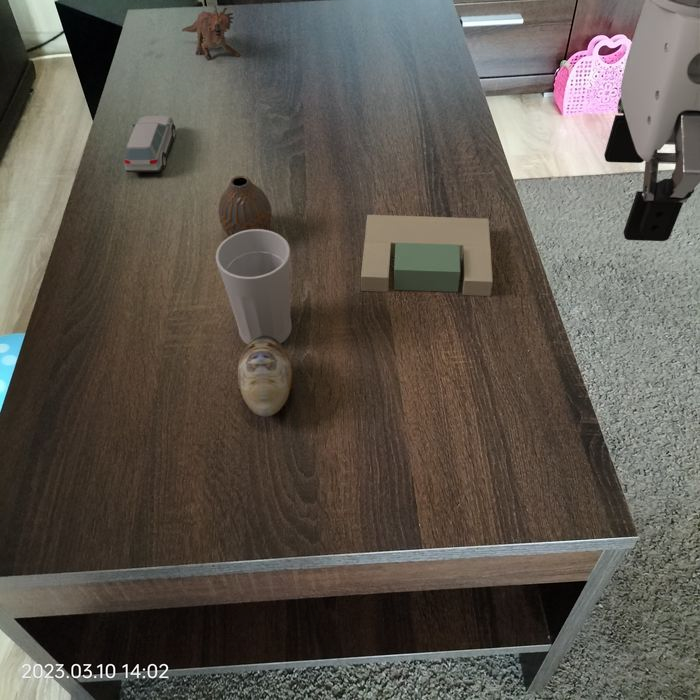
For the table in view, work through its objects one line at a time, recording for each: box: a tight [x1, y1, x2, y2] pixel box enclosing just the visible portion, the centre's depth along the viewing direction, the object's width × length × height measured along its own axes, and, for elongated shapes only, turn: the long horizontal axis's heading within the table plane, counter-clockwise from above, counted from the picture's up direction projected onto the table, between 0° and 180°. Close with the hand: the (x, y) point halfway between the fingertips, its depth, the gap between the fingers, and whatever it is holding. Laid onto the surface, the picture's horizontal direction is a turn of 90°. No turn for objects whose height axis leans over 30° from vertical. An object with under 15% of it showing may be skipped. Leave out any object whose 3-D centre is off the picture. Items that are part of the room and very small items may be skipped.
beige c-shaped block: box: [360, 214, 494, 297], centre depth 93 cm, size 16×12×2 cm
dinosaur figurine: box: [181, 5, 241, 61], centre depth 129 cm, size 14×6×9 cm, turn 42°
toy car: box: [123, 114, 176, 173], centre depth 110 cm, size 6×13×5 cm, turn 178°
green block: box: [393, 243, 461, 293], centre depth 91 cm, size 8×5×4 cm, turn 85°
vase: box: [218, 175, 273, 237], centre depth 95 cm, size 7×7×9 cm
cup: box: [215, 229, 293, 345], centre depth 83 cm, size 8×8×12 cm
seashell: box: [237, 335, 293, 418], centre depth 77 cm, size 10×6×8 cm, turn 4°
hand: (633, 197), depth 57 cm, fingers open, 9 cm apart
